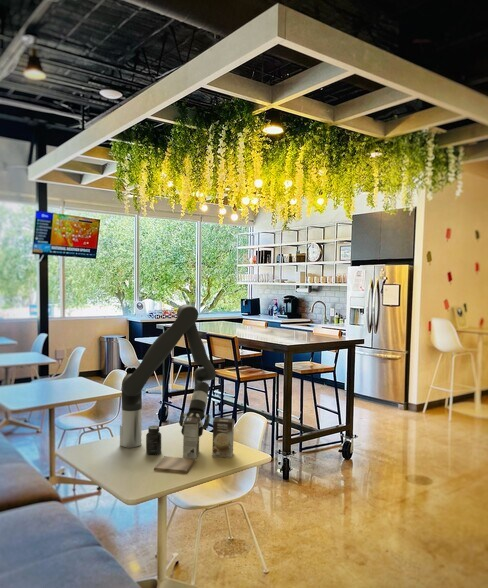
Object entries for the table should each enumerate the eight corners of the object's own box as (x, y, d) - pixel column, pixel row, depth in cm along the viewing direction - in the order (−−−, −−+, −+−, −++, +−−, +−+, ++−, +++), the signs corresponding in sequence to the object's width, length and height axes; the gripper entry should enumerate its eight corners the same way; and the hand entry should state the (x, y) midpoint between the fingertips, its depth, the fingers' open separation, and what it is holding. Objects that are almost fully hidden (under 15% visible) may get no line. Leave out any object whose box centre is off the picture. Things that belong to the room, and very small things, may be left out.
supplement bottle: (146, 450, 220) (147, 424, 220) (161, 450, 221) (162, 424, 220) (145, 456, 213) (145, 429, 213) (160, 455, 214) (160, 429, 214)
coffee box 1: (185, 450, 221) (186, 416, 220) (199, 451, 221) (200, 416, 220) (182, 458, 212) (183, 422, 211) (196, 458, 212) (197, 422, 211)
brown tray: (153, 470, 198) (154, 467, 198) (164, 458, 211) (164, 456, 211) (186, 473, 195) (186, 470, 195) (195, 461, 208) (195, 458, 208)
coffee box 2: (211, 456, 214) (212, 421, 214) (213, 451, 221) (214, 417, 220) (231, 457, 213) (232, 422, 213) (233, 452, 220) (234, 418, 219)
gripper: (182, 397, 225) (174, 430, 214) (212, 399, 223) (205, 432, 212) (185, 405, 231) (177, 437, 220) (214, 407, 229) (208, 440, 217)
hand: (191, 435), depth 216 cm, fingers closed on coffee box 1, 7 cm apart
